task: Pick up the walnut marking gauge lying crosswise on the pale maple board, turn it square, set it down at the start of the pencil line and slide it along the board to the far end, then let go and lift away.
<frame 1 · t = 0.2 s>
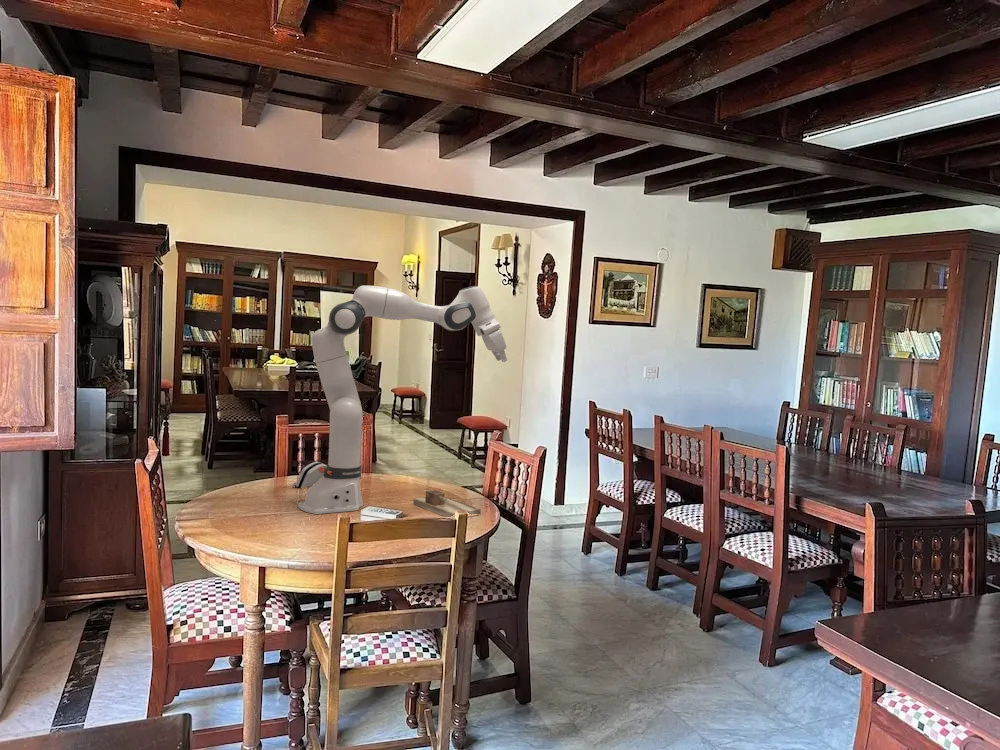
hand: (502, 360, 251), 54 cm above the table, tool tilted 30°, fingers open, 8 cm apart
board: (446, 509, 242), on the table
hinge: (311, 485, 271), on the table
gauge: (434, 503, 242), point 2 cm above the table, touching board
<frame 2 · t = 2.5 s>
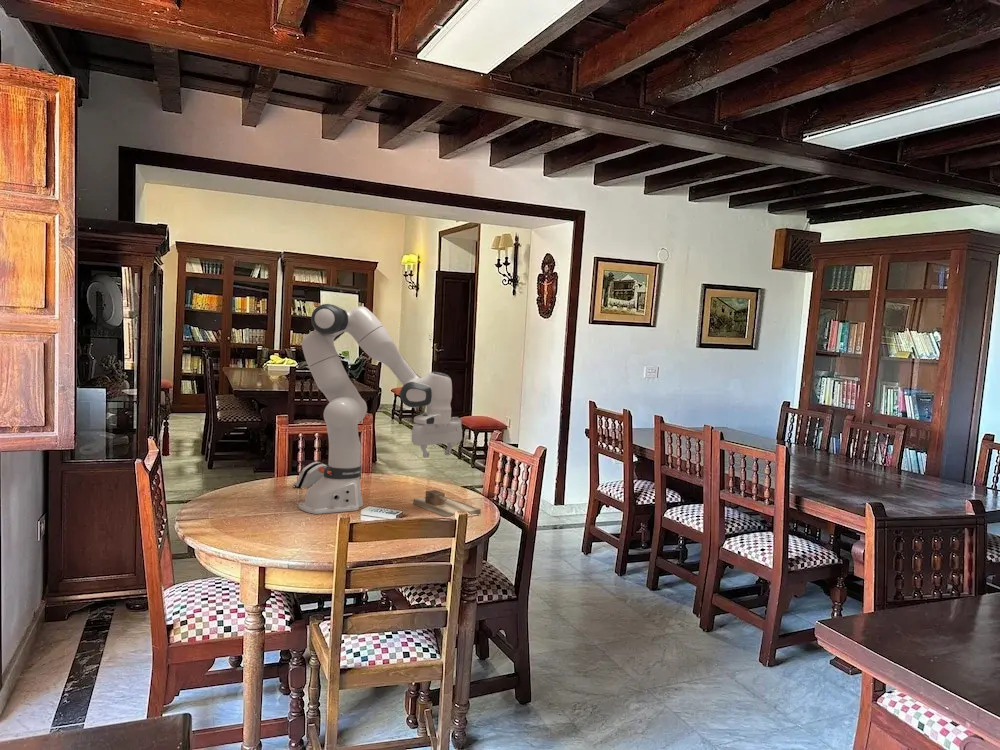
hand: (436, 456, 241), 19 cm above the table, tool pointing down, fingers open, 8 cm apart
nothing on the table moved.
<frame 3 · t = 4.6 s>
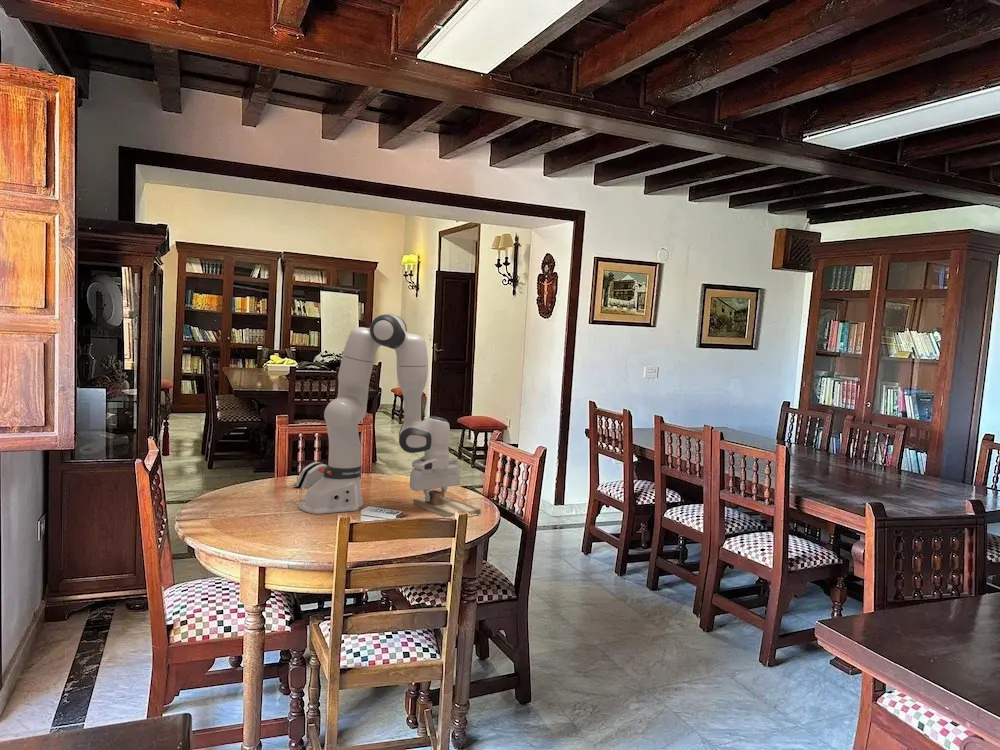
hand: (434, 500, 242), 3 cm above the table, tool pointing down, fingers closed on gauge, 4 cm apart
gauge: (434, 503, 242), point 2 cm above the table, touching board, gripper
everything else where it was.
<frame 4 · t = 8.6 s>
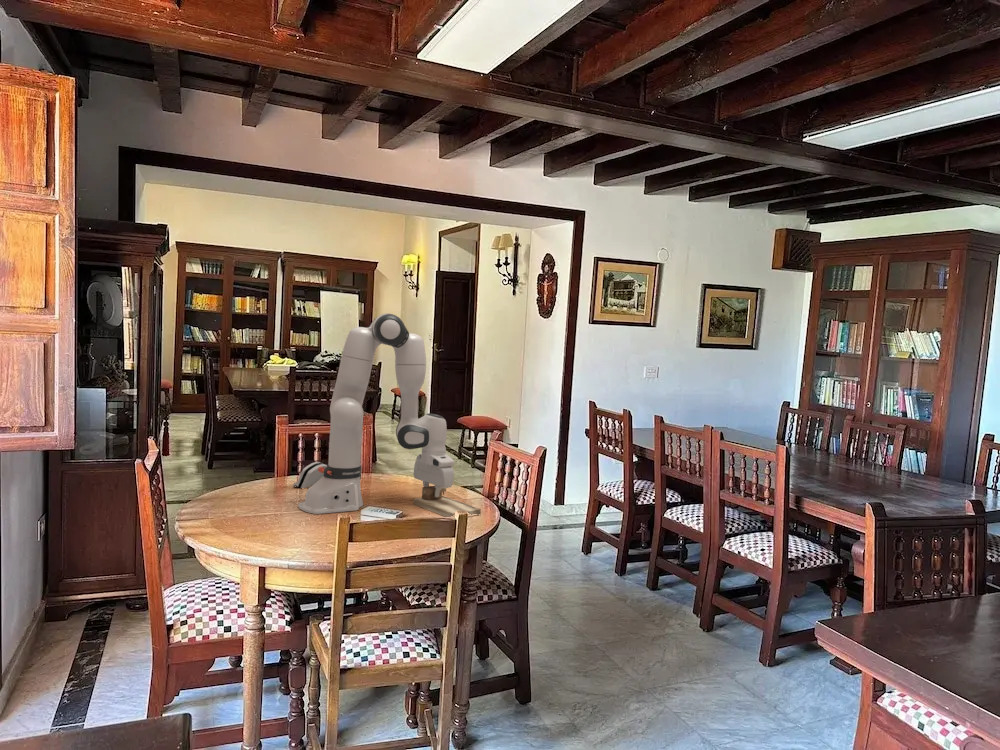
hand: (431, 495, 249), 3 cm above the table, tool pointing down, fingers closed on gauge, 4 cm apart
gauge: (431, 498, 249), point 2 cm above the table, touching gripper
everything else where it was.
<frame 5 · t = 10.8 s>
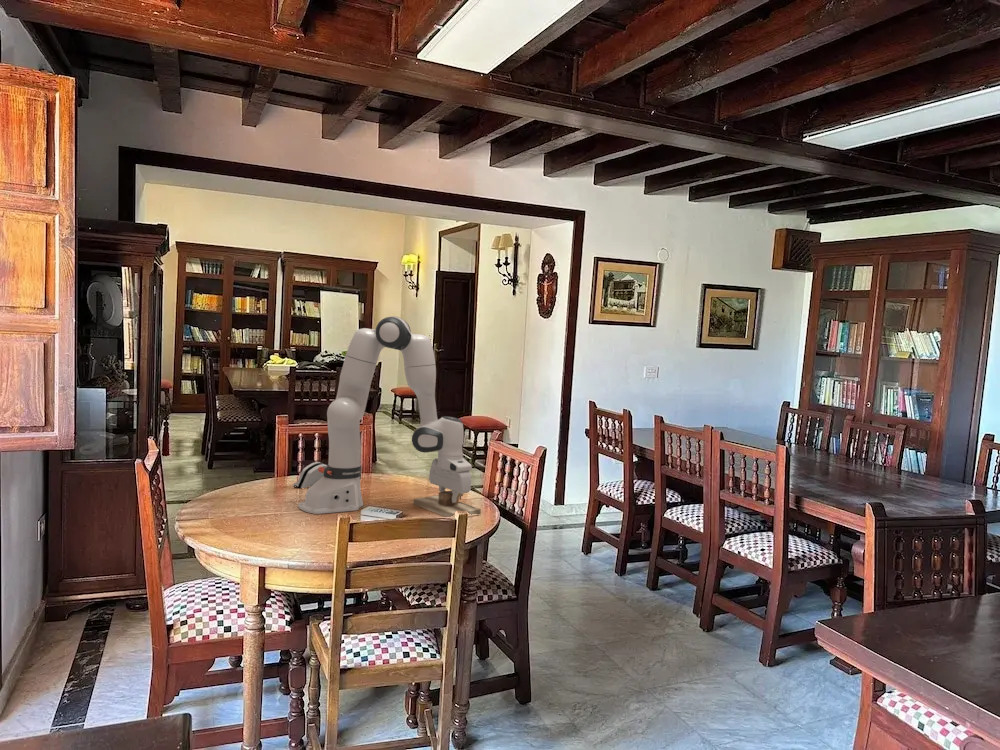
hand: (448, 500, 242), 3 cm above the table, tool pointing down, fingers closed on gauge, 4 cm apart
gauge: (448, 503, 242), point 2 cm above the table, touching gripper
everything else where it was.
when the fingers open (3 cm above the table, at t = 12.9 s): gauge stays where it is, resting on board.
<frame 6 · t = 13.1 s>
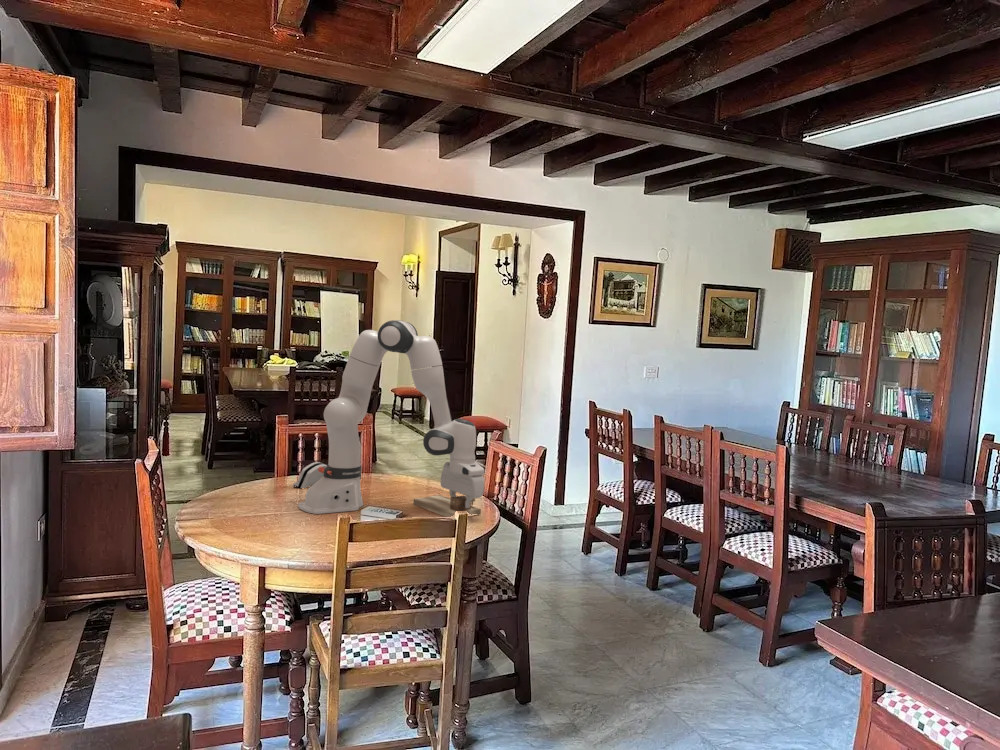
hand: (460, 505, 236), 3 cm above the table, tool pointing down, fingers open, 5 cm apart
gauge: (460, 508, 236), point 2 cm above the table, touching board
everything else where it was.
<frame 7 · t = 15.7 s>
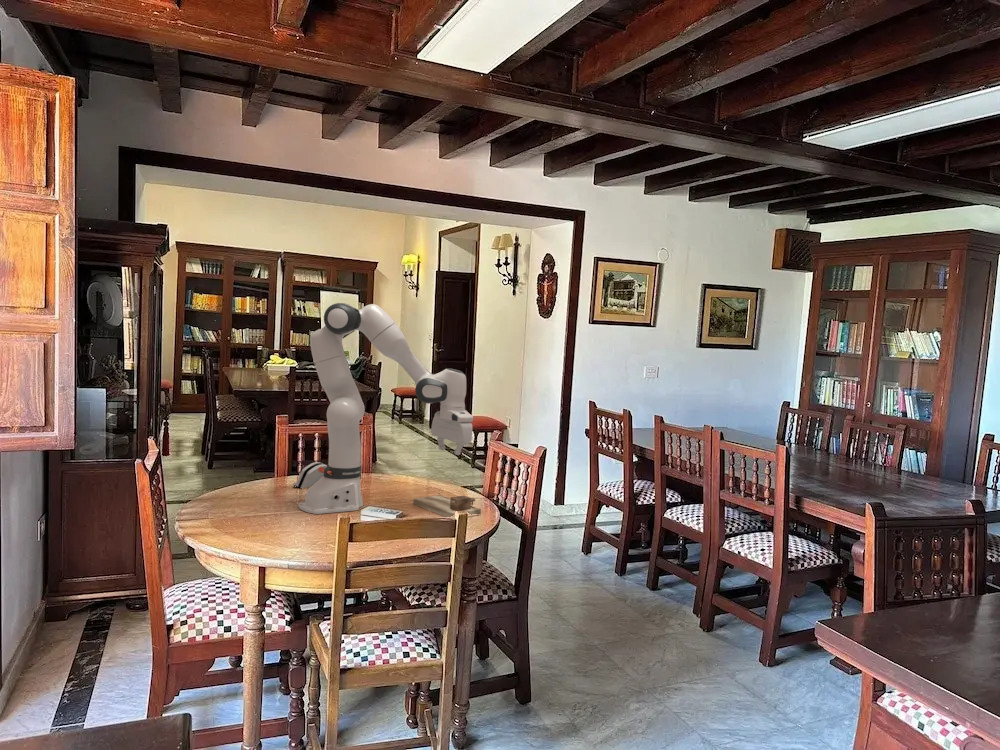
hand: (449, 452, 243), 20 cm above the table, tool pointing down, fingers open, 8 cm apart
nothing on the table moved.
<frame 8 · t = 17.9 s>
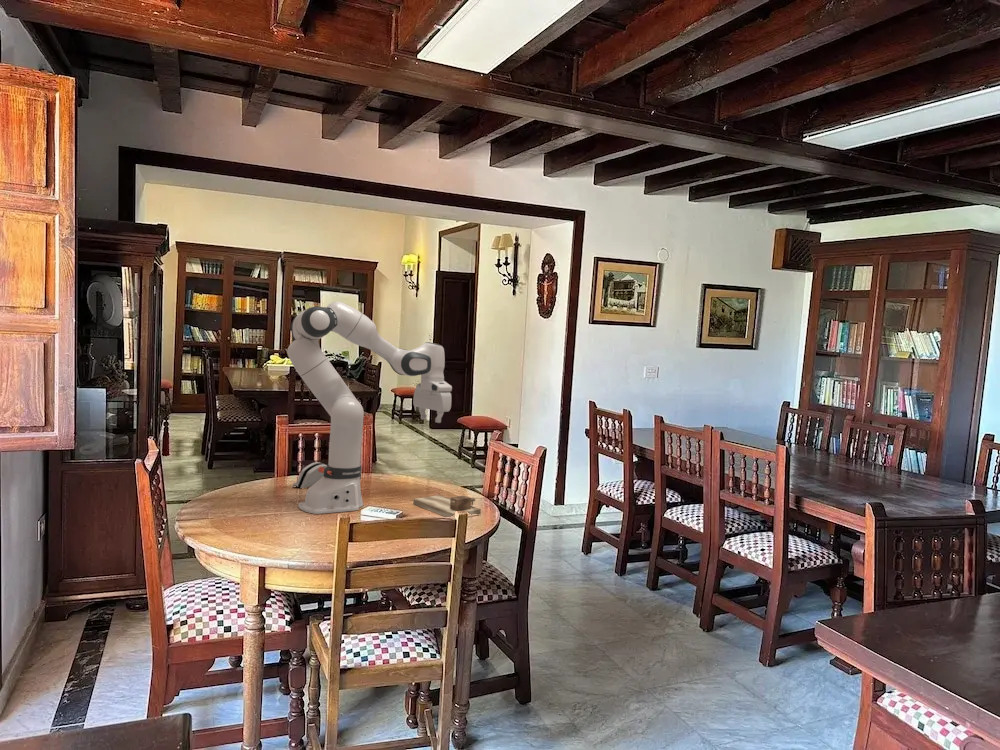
hand: (430, 420, 259), 29 cm above the table, tool pointing down, fingers open, 8 cm apart
nothing on the table moved.
at the end: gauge 0.1 cm from the target spot, point 2.0 cm above the table; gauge touching board; the gripper is holding nothing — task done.
